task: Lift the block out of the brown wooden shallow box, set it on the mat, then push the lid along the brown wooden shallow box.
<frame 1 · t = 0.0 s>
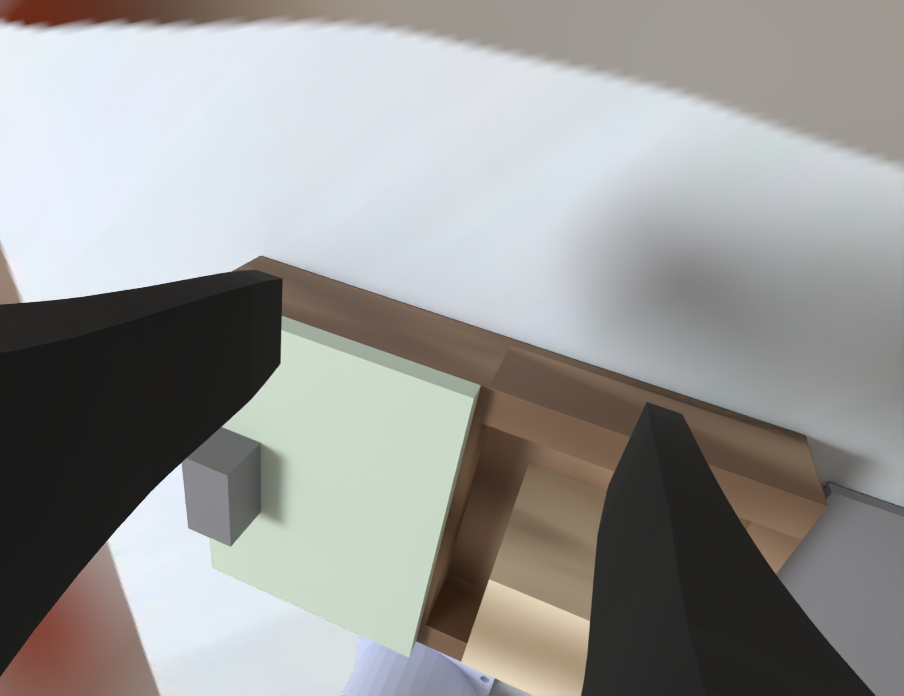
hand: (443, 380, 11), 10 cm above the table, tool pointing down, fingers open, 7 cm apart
mat: (898, 622, 22), on the table
lid: (306, 511, 22), point 5 cm above the table, slide at 0.0 cm
brown wooden shallow box: (474, 480, 26), on the table
block: (570, 526, 24), resting on brown wooden shallow box
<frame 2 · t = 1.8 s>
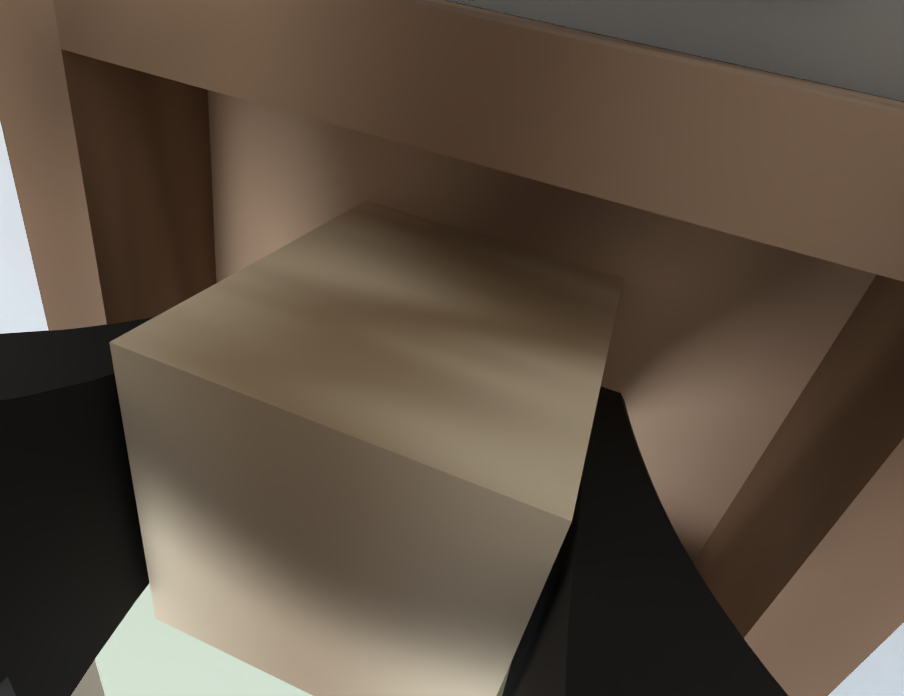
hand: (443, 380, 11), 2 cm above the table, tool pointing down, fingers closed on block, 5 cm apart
brown wooden shallow box: (436, 487, 15), on the table
block: (463, 350, 12), resting on brown wooden shallow box, touching gripper
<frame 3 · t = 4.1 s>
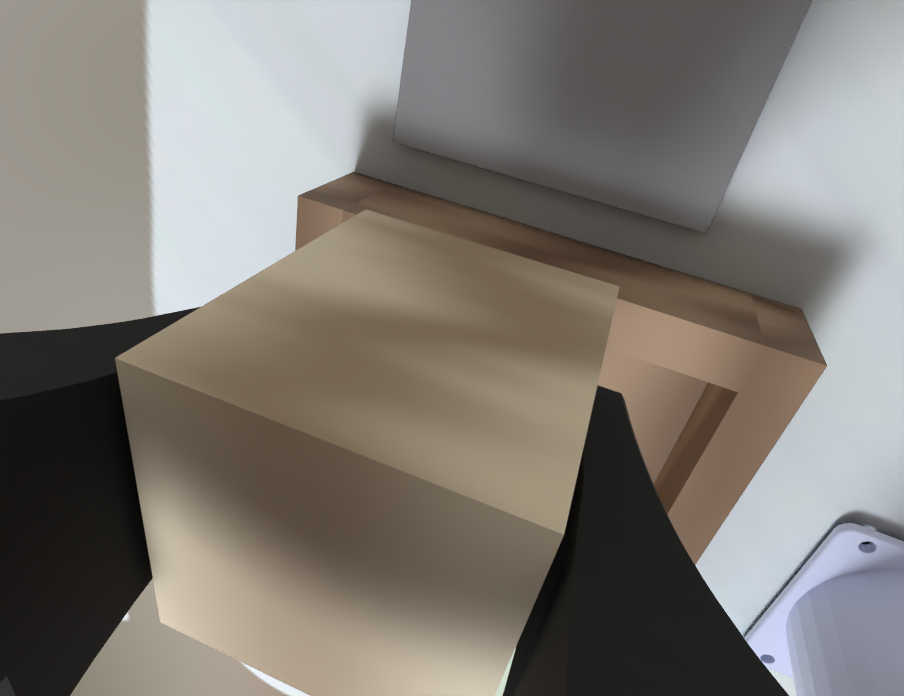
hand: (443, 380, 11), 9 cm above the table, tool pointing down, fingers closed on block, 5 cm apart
lid: (423, 644, 23), point 5 cm above the table, slide at 0.0 cm
brown wooden shallow box: (488, 468, 24), on the table
block: (462, 356, 12), point 8 cm above the table, touching gripper
when the fingers open (3 cm above the table, at t = 6.2 s): block drops 1 cm, resting on mat.
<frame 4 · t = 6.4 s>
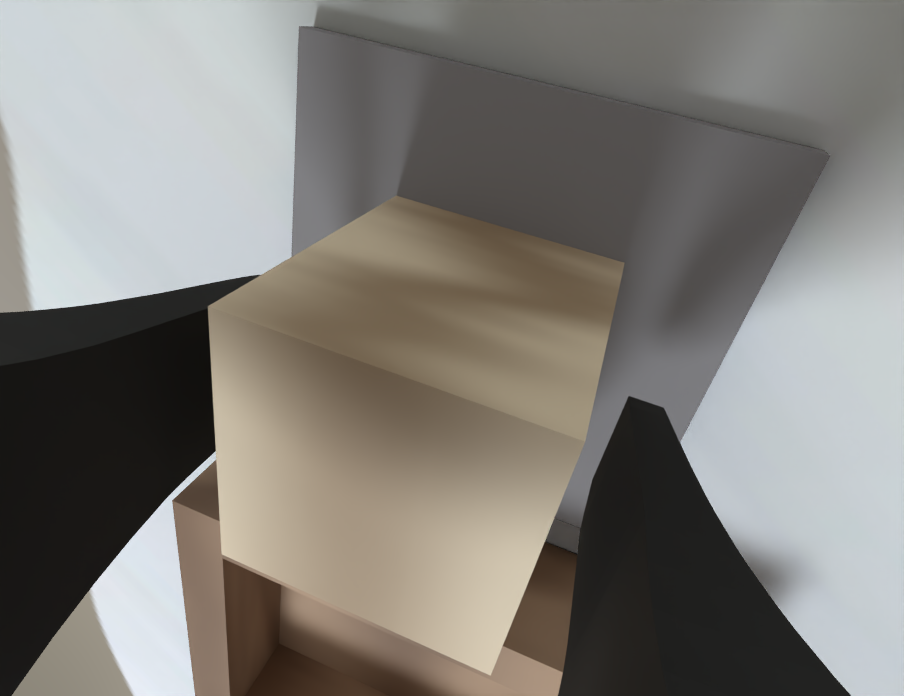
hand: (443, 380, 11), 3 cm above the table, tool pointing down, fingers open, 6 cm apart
mat: (489, 311, 13), on the table
block: (481, 329, 13), resting on mat
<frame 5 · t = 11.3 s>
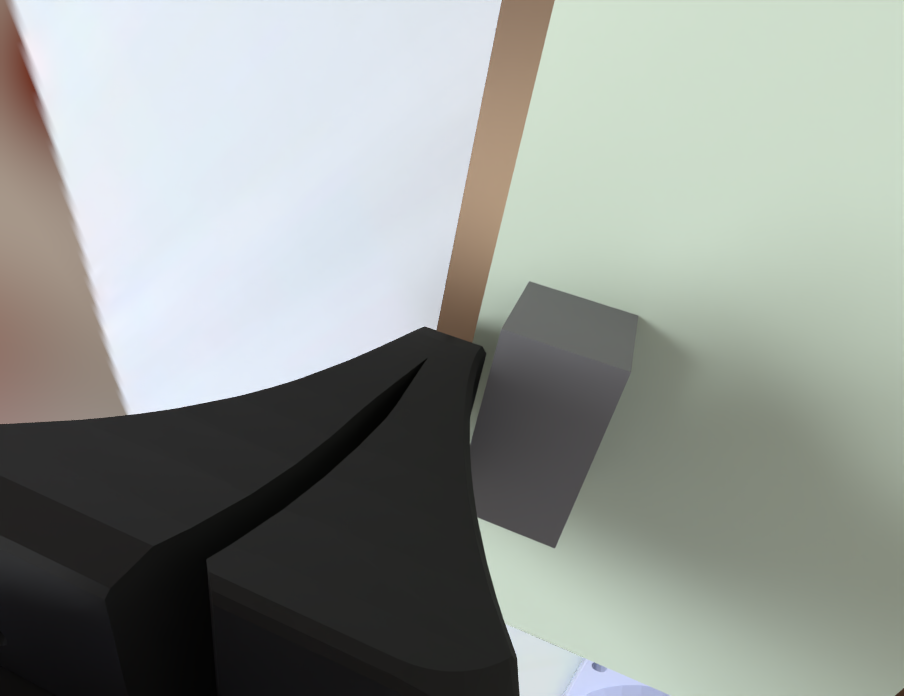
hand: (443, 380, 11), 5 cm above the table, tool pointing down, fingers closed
lid: (736, 471, 10), point 5 cm above the table, slide at 0.7 cm, touching gripper
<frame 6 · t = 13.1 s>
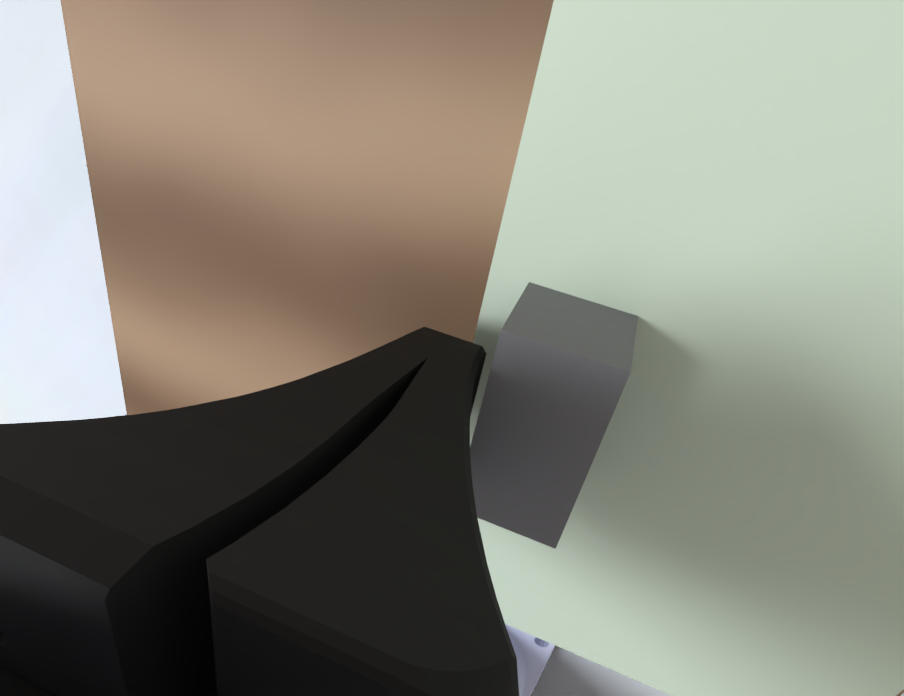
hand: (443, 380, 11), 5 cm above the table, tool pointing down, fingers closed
lid: (736, 471, 10), point 5 cm above the table, slide at 9.9 cm, touching gripper
brown wooden shallow box: (547, 290, 15), on the table
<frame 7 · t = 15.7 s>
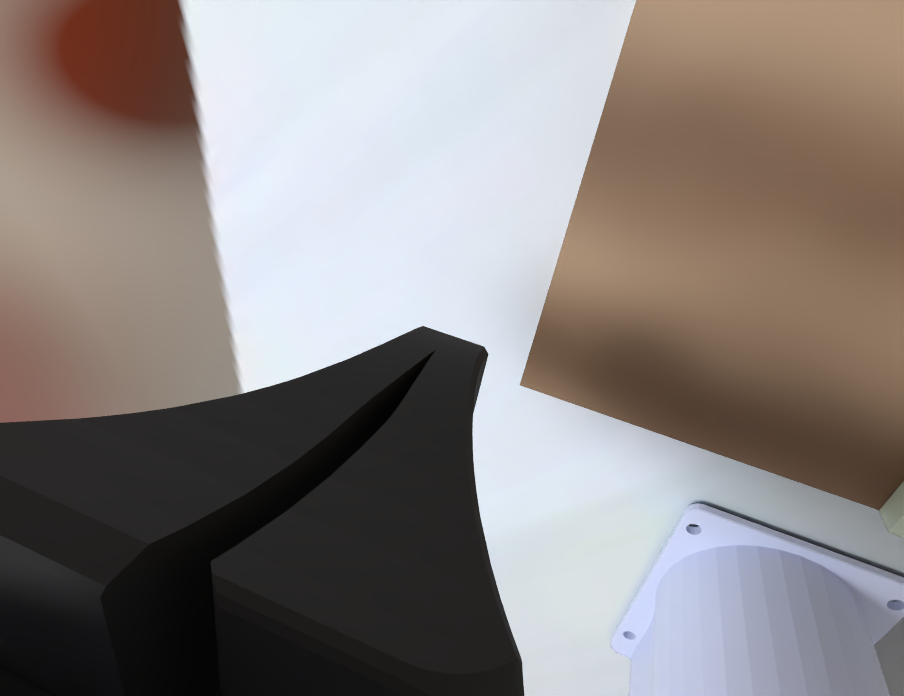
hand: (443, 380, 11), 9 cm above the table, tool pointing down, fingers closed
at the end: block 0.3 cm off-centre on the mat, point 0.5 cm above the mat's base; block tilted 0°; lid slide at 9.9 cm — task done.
